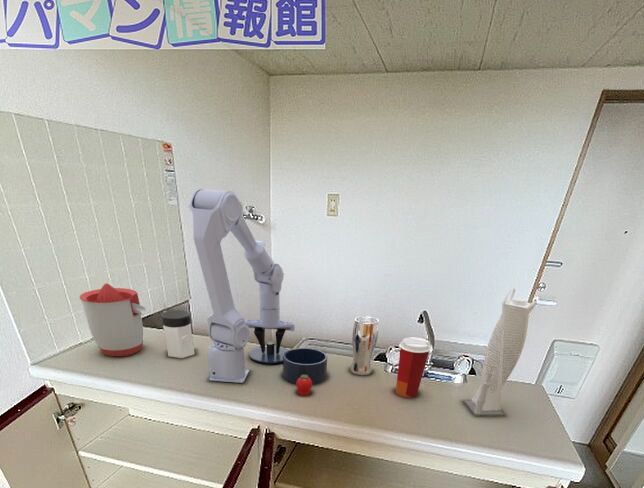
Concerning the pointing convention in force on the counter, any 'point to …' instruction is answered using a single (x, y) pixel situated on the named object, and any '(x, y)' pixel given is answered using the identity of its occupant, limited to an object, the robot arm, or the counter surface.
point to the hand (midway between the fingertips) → (270, 352)
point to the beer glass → (364, 344)
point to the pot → (304, 365)
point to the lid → (268, 354)
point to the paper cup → (411, 365)
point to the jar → (178, 334)
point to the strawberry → (304, 385)
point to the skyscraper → (501, 355)
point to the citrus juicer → (114, 319)
